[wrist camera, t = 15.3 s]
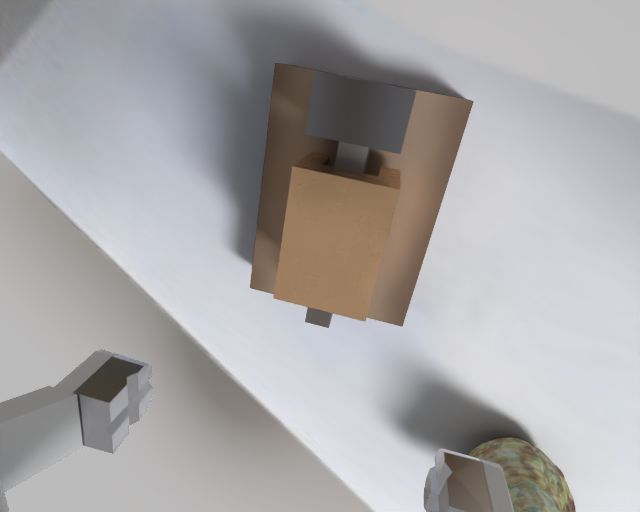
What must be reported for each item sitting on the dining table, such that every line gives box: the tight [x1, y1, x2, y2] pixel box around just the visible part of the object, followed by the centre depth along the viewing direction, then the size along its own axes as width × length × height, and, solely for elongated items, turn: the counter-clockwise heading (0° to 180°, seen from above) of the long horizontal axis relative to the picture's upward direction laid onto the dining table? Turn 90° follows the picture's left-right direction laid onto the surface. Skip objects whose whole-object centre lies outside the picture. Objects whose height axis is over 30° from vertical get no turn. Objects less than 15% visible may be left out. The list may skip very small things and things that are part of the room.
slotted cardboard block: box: [274, 151, 401, 321], centre depth 24 cm, size 6×8×5 cm
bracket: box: [250, 63, 473, 328], centre depth 26 cm, size 12×16×8 cm
